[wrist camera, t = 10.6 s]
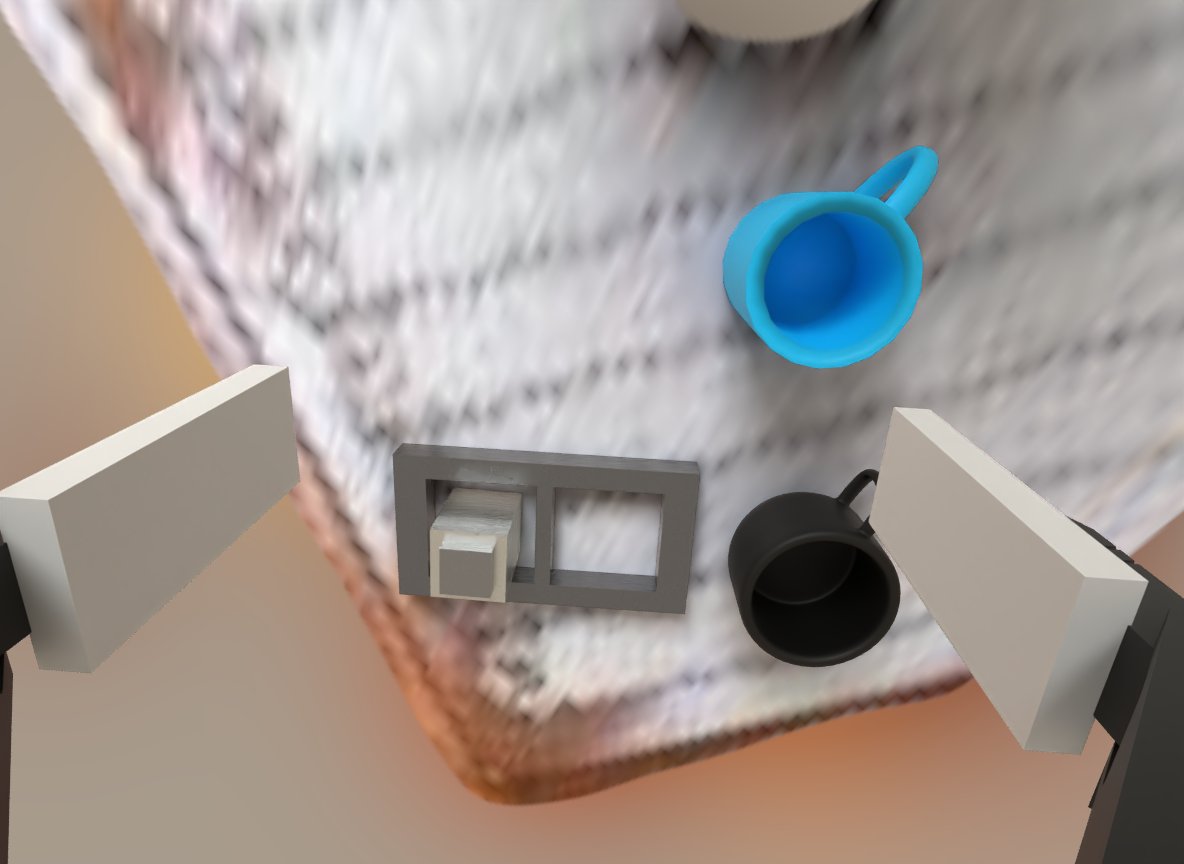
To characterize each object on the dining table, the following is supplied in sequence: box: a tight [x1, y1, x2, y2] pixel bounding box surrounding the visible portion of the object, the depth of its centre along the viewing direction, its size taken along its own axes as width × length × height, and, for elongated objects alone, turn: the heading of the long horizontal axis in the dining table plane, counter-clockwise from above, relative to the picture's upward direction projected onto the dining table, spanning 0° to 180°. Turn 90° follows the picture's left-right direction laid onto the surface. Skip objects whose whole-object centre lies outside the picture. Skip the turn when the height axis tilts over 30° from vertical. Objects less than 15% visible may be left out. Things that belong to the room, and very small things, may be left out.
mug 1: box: [723, 146, 938, 369], centre depth 36 cm, size 12×8×8 cm
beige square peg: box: [430, 488, 522, 603], centre depth 43 cm, size 4×4×7 cm
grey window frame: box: [393, 443, 700, 614], centre depth 45 cm, size 10×19×2 cm, turn 87°
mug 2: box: [728, 469, 901, 667], centre depth 42 cm, size 12×9×7 cm
